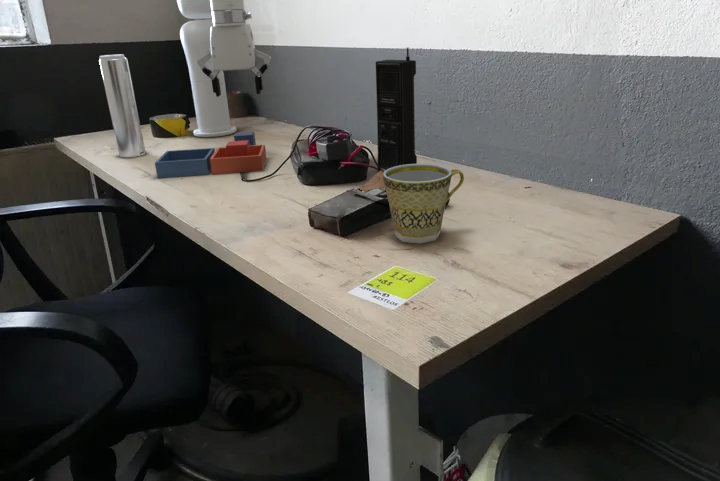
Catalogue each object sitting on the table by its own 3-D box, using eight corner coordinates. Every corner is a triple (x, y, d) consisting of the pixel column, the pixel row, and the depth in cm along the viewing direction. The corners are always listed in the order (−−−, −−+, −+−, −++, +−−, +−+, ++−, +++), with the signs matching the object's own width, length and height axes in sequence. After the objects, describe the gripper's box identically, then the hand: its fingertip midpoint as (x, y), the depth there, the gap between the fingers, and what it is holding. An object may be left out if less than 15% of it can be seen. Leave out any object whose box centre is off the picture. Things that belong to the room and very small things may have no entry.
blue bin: (169, 165, 136) (166, 150, 135) (216, 162, 137) (214, 147, 136) (157, 177, 126) (154, 162, 125) (208, 174, 127) (206, 159, 125)
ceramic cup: (404, 253, 81) (402, 186, 77) (374, 231, 90) (371, 169, 86) (480, 236, 86) (482, 171, 82) (445, 216, 94) (446, 157, 90)
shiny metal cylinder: (124, 158, 145) (103, 56, 135) (115, 155, 150) (94, 55, 140) (149, 154, 149) (130, 53, 139) (140, 150, 153) (120, 53, 144)
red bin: (219, 161, 137) (217, 147, 136) (266, 158, 138) (264, 144, 136) (212, 174, 127) (209, 158, 125) (262, 170, 127) (260, 155, 126)
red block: (231, 162, 134) (228, 141, 132) (251, 161, 134) (248, 140, 132) (228, 167, 130) (225, 145, 128) (249, 166, 130) (246, 144, 128)
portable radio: (372, 171, 122) (366, 49, 113) (390, 165, 126) (386, 46, 117) (400, 176, 117) (397, 49, 108) (418, 170, 121) (416, 46, 112)
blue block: (238, 151, 146) (236, 132, 144) (256, 150, 146) (254, 131, 145) (236, 155, 142) (233, 136, 140) (254, 154, 142) (252, 134, 140)
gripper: (268, 16, 135) (275, 90, 142) (194, 20, 134) (205, 94, 141) (265, 16, 128) (273, 94, 135) (187, 21, 127) (199, 99, 134)
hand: (238, 94), depth 138 cm, fingers open, 9 cm apart
